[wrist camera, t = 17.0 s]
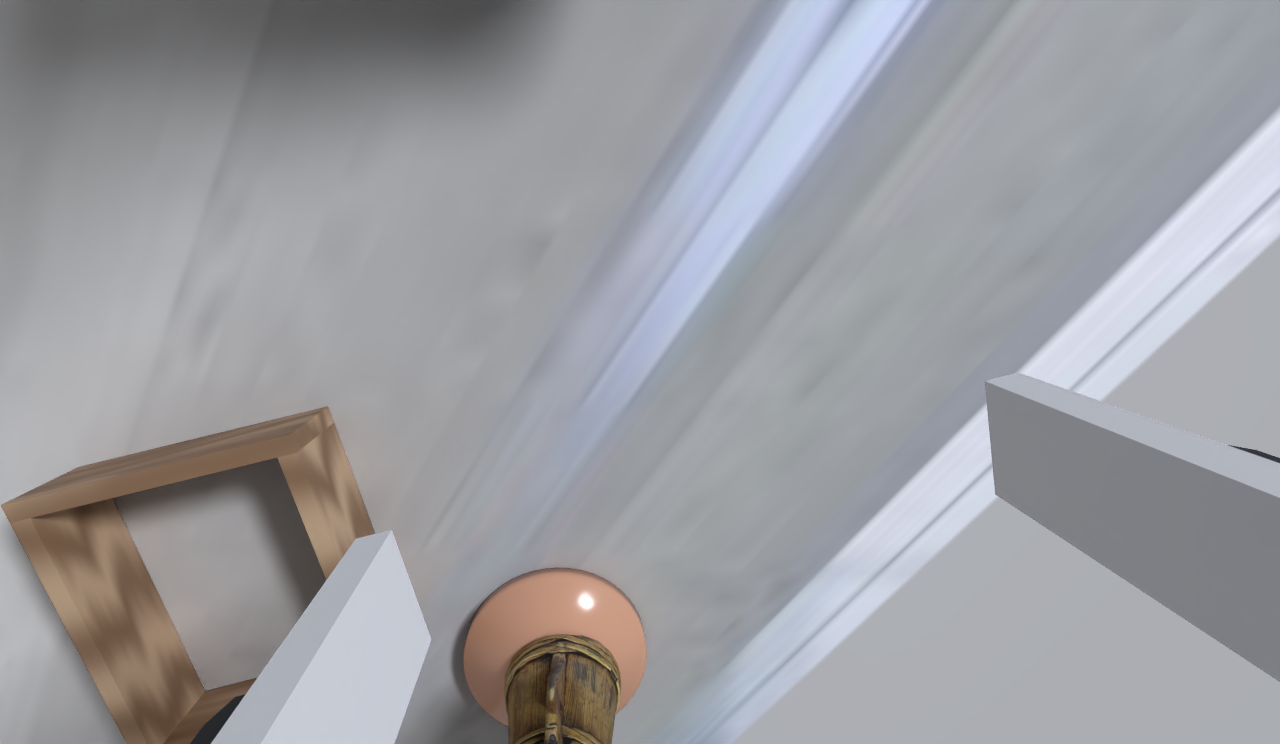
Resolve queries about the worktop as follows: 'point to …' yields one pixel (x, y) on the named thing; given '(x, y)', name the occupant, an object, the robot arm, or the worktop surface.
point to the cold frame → (120, 584)
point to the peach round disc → (550, 629)
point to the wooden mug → (562, 692)
